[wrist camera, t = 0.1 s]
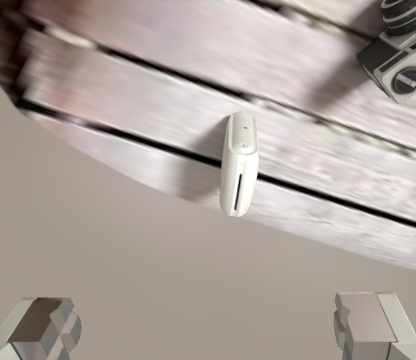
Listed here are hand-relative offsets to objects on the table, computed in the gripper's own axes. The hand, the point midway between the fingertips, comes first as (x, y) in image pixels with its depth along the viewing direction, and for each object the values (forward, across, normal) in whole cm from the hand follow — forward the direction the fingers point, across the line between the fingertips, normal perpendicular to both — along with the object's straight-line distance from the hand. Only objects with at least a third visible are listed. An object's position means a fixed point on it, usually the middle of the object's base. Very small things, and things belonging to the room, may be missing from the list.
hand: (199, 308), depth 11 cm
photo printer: (+40, 0, +12) cm, 42 cm away
